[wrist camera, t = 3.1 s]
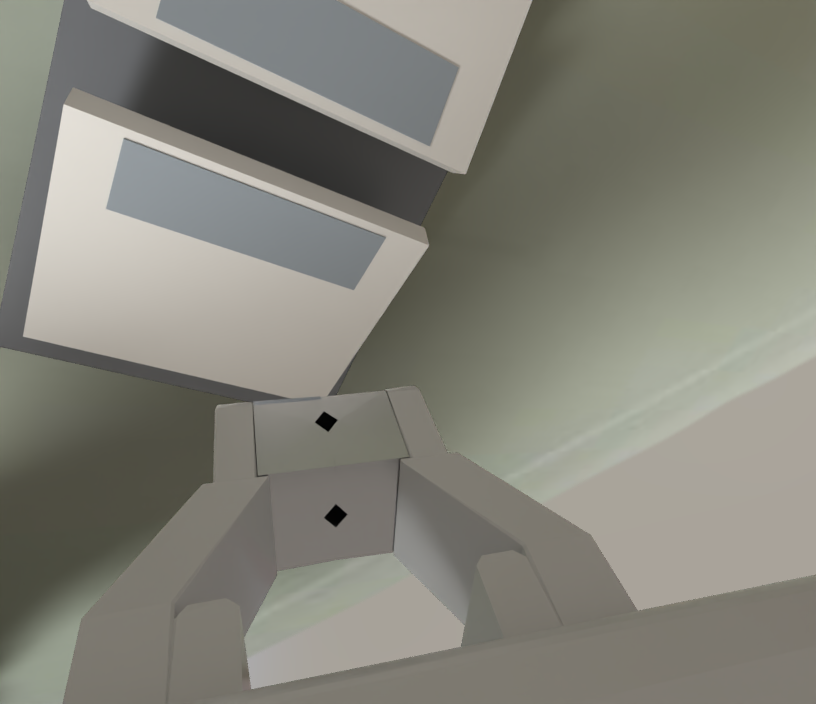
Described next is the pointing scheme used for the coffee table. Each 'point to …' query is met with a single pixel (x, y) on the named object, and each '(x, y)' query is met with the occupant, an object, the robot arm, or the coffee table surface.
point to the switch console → (207, 119)
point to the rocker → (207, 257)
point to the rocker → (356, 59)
